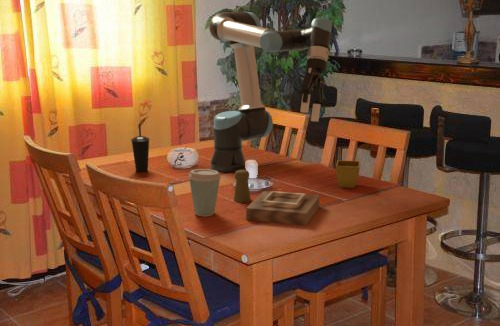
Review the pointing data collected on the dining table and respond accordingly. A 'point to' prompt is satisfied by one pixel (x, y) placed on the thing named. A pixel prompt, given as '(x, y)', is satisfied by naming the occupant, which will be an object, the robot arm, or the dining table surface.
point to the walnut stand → (283, 207)
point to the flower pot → (347, 173)
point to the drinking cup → (140, 152)
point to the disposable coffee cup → (204, 190)
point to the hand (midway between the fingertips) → (309, 116)
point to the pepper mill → (242, 186)
